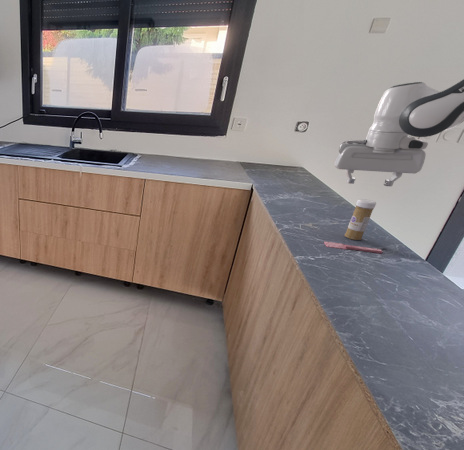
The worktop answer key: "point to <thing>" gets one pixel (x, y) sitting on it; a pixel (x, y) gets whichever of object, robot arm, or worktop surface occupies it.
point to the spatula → (351, 247)
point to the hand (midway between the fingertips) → (368, 184)
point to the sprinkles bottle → (360, 219)
